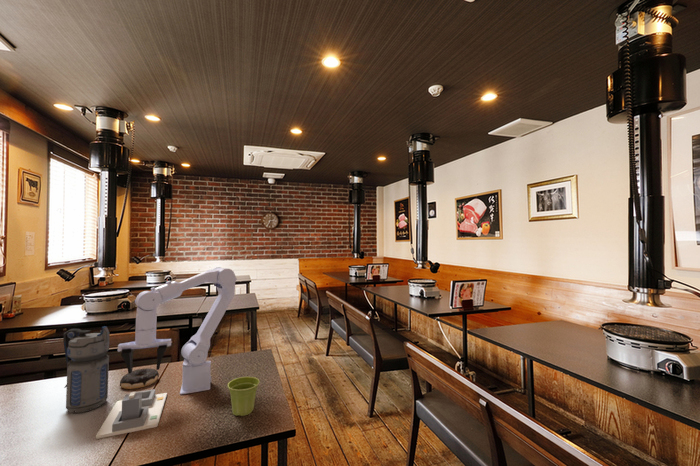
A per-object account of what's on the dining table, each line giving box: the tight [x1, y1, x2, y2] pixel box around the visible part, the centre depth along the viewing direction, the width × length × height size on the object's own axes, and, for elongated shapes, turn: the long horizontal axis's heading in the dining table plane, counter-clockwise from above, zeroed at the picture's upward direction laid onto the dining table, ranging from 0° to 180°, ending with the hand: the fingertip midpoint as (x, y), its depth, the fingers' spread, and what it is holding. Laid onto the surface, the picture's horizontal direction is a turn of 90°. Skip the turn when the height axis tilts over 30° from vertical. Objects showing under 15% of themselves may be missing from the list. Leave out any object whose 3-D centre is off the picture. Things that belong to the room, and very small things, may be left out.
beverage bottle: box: [62, 325, 111, 414], centre depth 99 cm, size 10×13×25 cm
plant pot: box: [227, 376, 260, 417], centre depth 96 cm, size 9×9×9 cm
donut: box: [119, 367, 160, 390], centre depth 115 cm, size 11×12×4 cm
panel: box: [95, 388, 168, 440], centre depth 94 cm, size 14×20×3 cm
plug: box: [121, 391, 142, 421], centre depth 89 cm, size 4×4×8 cm
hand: (144, 370), depth 101 cm, fingers open, 7 cm apart
